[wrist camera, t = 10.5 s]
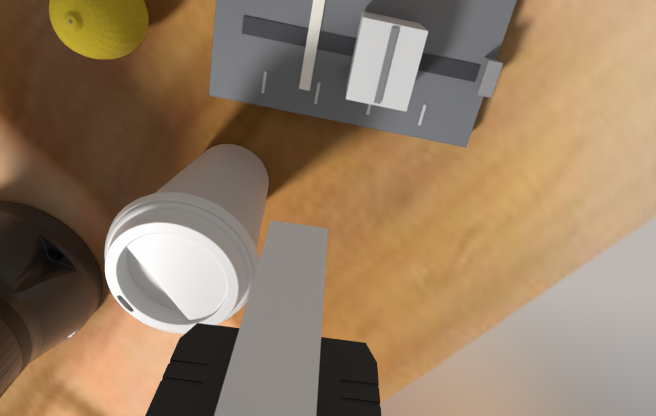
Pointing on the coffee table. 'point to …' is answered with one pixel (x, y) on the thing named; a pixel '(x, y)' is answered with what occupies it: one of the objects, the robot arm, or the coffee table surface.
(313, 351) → the robot arm
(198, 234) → the coffee cup
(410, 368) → the coffee table surface
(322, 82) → the console
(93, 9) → the lemon
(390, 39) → the fader grey
